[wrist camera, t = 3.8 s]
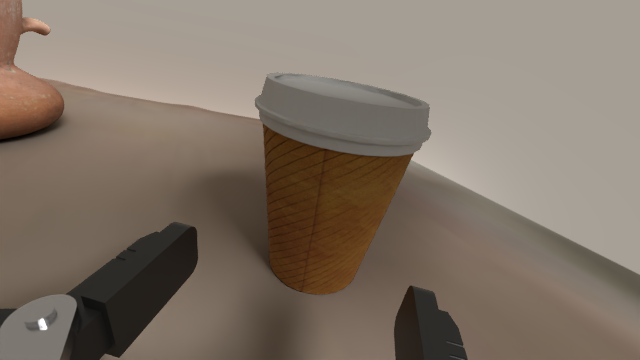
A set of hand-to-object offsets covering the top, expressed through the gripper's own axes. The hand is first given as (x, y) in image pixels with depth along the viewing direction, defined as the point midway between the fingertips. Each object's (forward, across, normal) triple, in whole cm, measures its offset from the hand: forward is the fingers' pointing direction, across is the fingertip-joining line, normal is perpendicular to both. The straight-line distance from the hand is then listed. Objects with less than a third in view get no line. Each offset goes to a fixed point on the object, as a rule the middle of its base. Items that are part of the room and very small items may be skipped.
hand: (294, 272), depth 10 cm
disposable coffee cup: (+8, 0, +6) cm, 10 cm away
